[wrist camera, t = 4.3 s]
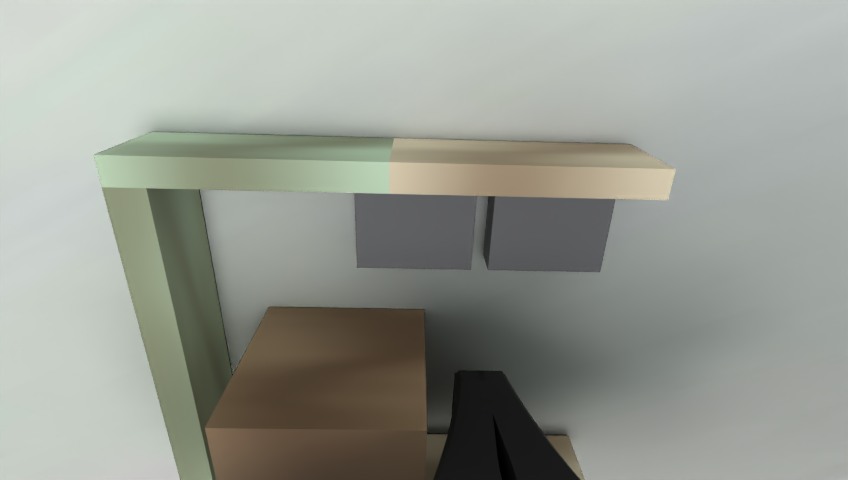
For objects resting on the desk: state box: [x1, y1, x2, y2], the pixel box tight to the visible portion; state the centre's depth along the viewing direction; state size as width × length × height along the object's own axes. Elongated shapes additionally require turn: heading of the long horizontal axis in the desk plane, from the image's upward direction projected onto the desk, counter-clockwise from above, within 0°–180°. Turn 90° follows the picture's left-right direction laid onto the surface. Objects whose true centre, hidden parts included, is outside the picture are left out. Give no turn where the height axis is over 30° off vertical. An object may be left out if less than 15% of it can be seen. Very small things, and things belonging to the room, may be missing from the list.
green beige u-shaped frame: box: [93, 132, 676, 480], centre depth 11 cm, size 10×9×2 cm
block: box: [205, 307, 427, 480], centre depth 11 cm, size 4×4×4 cm
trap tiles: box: [355, 193, 615, 272], centre depth 11 cm, size 6×2×1 cm, turn 88°
